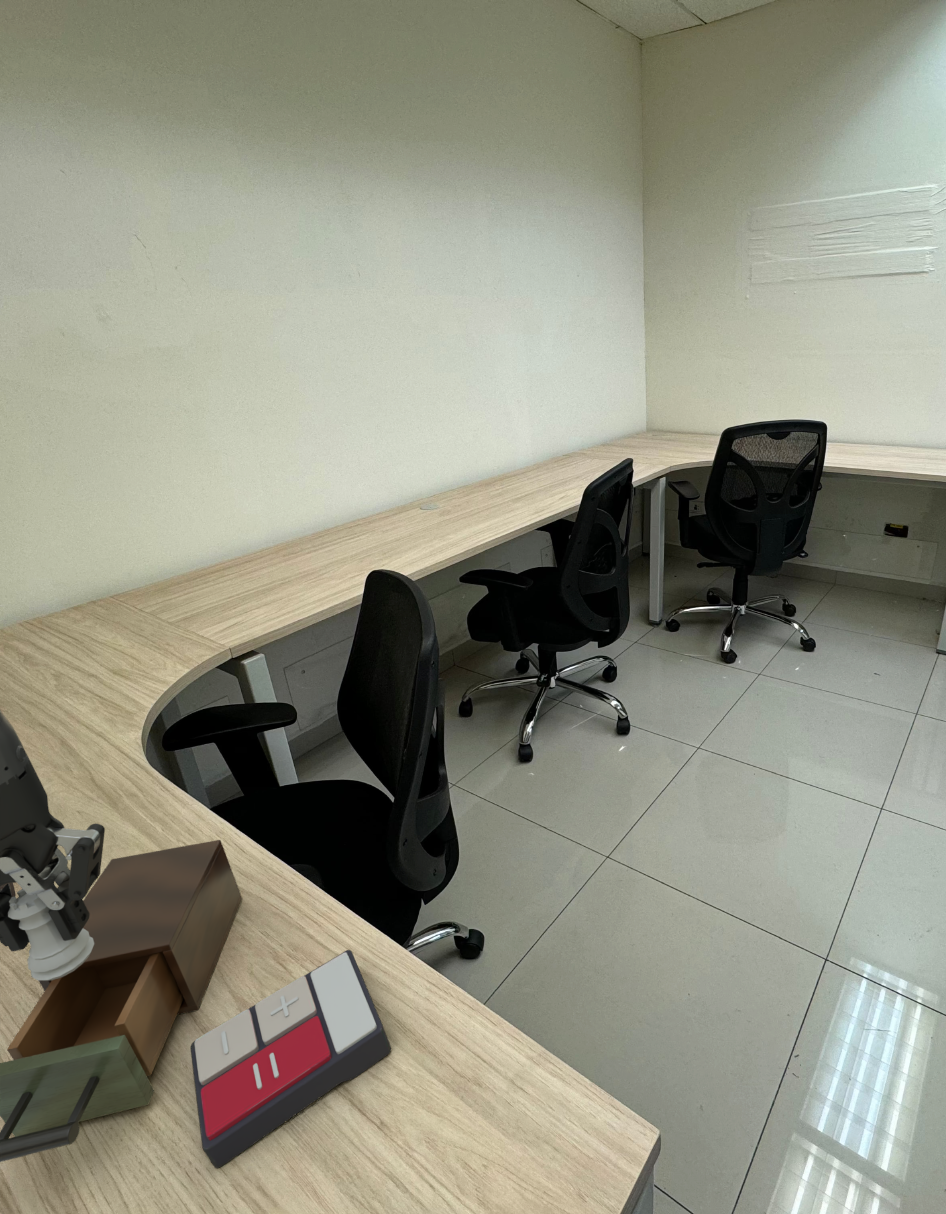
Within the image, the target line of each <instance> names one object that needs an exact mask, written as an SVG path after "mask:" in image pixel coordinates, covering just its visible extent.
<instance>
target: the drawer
mask: <svg viewBox="0 0 946 1214" xmlns="http://www.w3.org/2000/svg"><path fill="white" fill-rule="evenodd" d="M183 999H184V997H183V995H182V993H181V991H180V988H179V986H178V984H177V982H176V980H175V978H174V975H173V973H172V971H171V969H170V967H169V965H168V962H167V960H166V958H165V956H164V954H163V952H159V953H154V954H149V955H144V956H140V957H135V958H130V959H125V960H120V961H116V962H111V963H106V964H101V965H96V966H92V967H87V968H82V969H77V970H74V971H73V972H71V973H69V974H67V975H65V976H63V977H61V978H58V979H55V980H52V981H51V982H50V984H49V986H48V987H47V989H46V990H45V991H44V992H43V993H42V994H41V996H40V998H39V999H38V1001H37V1003H36V1004H35V1005H34V1007H33V1009H32V1010H31V1012H30V1013H29V1015H28V1016H27V1018H26V1020H25V1021H24V1022H23V1024H22V1026H21V1027H20V1028H19V1030H18V1032H17V1033H16V1035H15V1036H14V1038H13V1040H12V1041H11V1042H10V1044H9V1045H8V1047H7V1049H6V1050H7V1052H8V1055H10V1057H11V1058H12V1060H8V1061H3V1062H0V1118H1V1119H2V1121H3V1122H4V1125H3V1127H2V1128H1V1130H0V1163H3V1162H6V1161H10V1160H14V1159H18V1158H22V1157H26V1156H29V1155H34V1154H38V1153H42V1152H47V1151H50V1150H53V1149H58V1148H62V1147H66V1146H70V1145H72V1144H74V1143H75V1142H76V1141H77V1138H78V1136H79V1134H80V1124H79V1123H80V1122H83V1121H88V1120H91V1119H97V1118H99V1117H104V1116H108V1115H112V1114H116V1113H120V1112H124V1111H129V1110H132V1109H138V1108H140V1107H145V1106H148V1105H150V1102H151V1100H152V1098H153V1095H154V1092H155V1089H154V1088H153V1085H152V1083H151V1081H150V1080H149V1078H148V1076H151V1075H152V1074H153V1071H154V1069H155V1067H156V1065H157V1062H158V1060H159V1058H160V1055H161V1053H162V1051H163V1048H164V1046H165V1044H166V1041H167V1039H168V1036H169V1035H170V1032H171V1029H172V1027H173V1025H174V1022H175V1020H176V1017H177V1016H178V1015H177V1013H178V1011H179V1008H180V1006H181V1004H182V1001H183ZM11 1135H13V1136H12V1137H11Z"/></svg>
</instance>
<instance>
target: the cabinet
mask: <svg viewBox="0 0 946 1214" xmlns="http://www.w3.org/2000/svg"><path fill="white" fill-rule="evenodd" d="M82 900H83V902H84V904H85V906H86V908H87V910H88V911H89V913H90V915H89V919H88V921H87V922H86V924H85V926H84V927H83V929H85V930H87V931H88V932H89V936H90V937H92V938H93V941H94V946H93V948H92V951H91V953H90V955H89V957H88V958H87V959H86V960H85V962H84V963H83V964H82V965H80V966H79V967H78V968H77V969H82V968H87V967H92V966H96V965H101V964H106V963H111V962H116V961H120V960H125V959H130V958H135V957H140V956H144V955H149V954H154V953H159V952H163V954H164V956H165V958H166V960H167V962H168V965H169V967H170V969H171V971H172V973H173V975H174V978H175V980H176V982H177V984H178V986H179V988H180V991H181V993H182V995H183V997H184V999H183V1001H182V1004H181V1006H180V1008H179V1011H178V1013H177V1015H176V1016H178V1015H182V1014H187V1013H190V1012H195V1011H196V1012H197V1011H198V1010H199V1009H200V1007H201V1005H202V1001H203V999H204V997H205V994H206V991H207V989H208V988H209V987H208V986H209V984H210V982H211V979H212V977H213V974H214V971H215V969H216V967H217V964H218V962H219V959H220V957H221V954H222V952H223V949H224V946H225V945H226V944H225V943H226V941H227V938H228V937H229V934H230V931H231V928H232V926H233V923H234V920H235V919H236V916H237V913H238V911H239V908H240V906H241V904H242V901H243V897H242V895H241V892H240V888H239V886H238V883H237V881H236V878H235V875H234V873H233V870H232V866H231V864H230V862H229V858H228V856H227V853H226V851H225V848H224V846H223V843H222V841H221V839H216V840H211V841H205V842H199V843H194V844H188V845H184V846H177V847H171V848H167V849H161V850H156V851H149V852H144V853H139V854H133V855H128V856H127V855H126V856H122V857H117V858H111V859H110V861H109V862H108V864H107V865H106V867H105V868H104V870H103V871H102V873H100V875H99V877H98V878H97V879H96V880H95V882H94V883H93V885H92V886H91V888H90V889H89V890H88V893H87V894H86V896H85V897H84V898H83V899H82ZM77 969H75V970H77ZM37 981H38V982H39V984H40V986H41V987H42V989H43V991H44V992H45V990H46V989H47V987H48V986H49V984H50V982H51V981H52V980H46V981H42V980H37Z"/></svg>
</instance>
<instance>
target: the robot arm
mask: <svg viewBox="0 0 946 1214" xmlns="http://www.w3.org/2000/svg"><path fill="white" fill-rule="evenodd" d="M38 775H39V774H37V772H36V770H35V768H34V765H33V763H32V762H31V760H30V757H29V756H28V753H27V752H26V749H25V747H24V745H23V744H22V741H21V739H20V737H19V735H18V733H17V731H16V729H15V728H14V726H13V725H12V723H11V722H10V721H9V720H8V718H7V716H6V715H5V714H4V713H3V712H2V710H1V709H0V944H1V945H3V946H4V947H8V949H9V950H10V952H17V951H22V950H24V949H26V948H27V946H28V945H29V944H30V942H29V939H28V935H27V933H26V932H25V930H22V929H20V928H19V923H20V920H16V919H11V918H10V917H8V911H9V909H10V906H9V905H10V903H9V901H10V899H11V897H16V896H17V893H16V889H15V886H14V883H15V884H17V885H19V887H20V888H21V889H23V890H24V891H25V892H26V893H27V894H28V895H34V894H36V895H37V896H38V897H39V898H40V899H41V900H42V901H43V902H44V904H45V905H46V906H47V907H48V908H49V909H50V910H49V912H48V913H49V915H50V917H51V918H52V920H53V922H54V924H55V926H56V928H57V929H58V931H59V933H60V935H61V937H62V939H63V940H64V941H67V940H72V939H76V938H77V937H78V935H79V933H80V932H81V930H82V929H83V927H84V926H85V924H86V922H87V921H88V919H89V915H90V913H89V911H88V910H87V908H86V906H85V904H84V902H83V900H84V899H85V897H86V896H87V894H88V893H89V891H90V890H91V888H92V887H93V885H94V884H95V882H96V881H97V880H98V878H99V877H100V875H101V868H102V861H103V860H102V859H103V850H104V841H105V832H106V829H105V827H104V825H103V824H100V823H92V824H89V826H88V827H87V828H86V829H75V828H65V825H64V824H63V822H61V821H60V820H59V819H58V818H56V817H54V816H53V815H52V814H51V812H50V809H49V798H48V794H47V791H46V790H45V788H44V786H43V784H42V782H41V779H40V777H39V776H38ZM59 847H62V848H63V849H64V853H65V854H66V855H65V854H64V853H63V852H62V851H61V849H59ZM69 861H70V869H69V867H68V864H69ZM55 884H56V885H57V886H58V887H57V886H56V885H55Z"/></svg>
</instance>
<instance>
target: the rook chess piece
mask: <svg viewBox="0 0 946 1214" xmlns="http://www.w3.org/2000/svg"><path fill="white" fill-rule="evenodd" d="M16 895H17V897H16V896H15V897H11V899H10V901H9V903H10V905H9V906H10V909H9V911H8V917H10V918H11V919H16V920H20V923H19V928H20V929H22V930H25V932H26V933H27V935H28V939H29V945H30V947H29V950H28V957H27V961H26V962H27V970H28V971H30V977H31V978H32V979H34V980H36V981H38V980H42V981H46V980H55V979H58V978H61V977H63V976H65V975H67V974H69V973H71V972H73V971H74V970H75V969H77V968H78V967H79V966H80V965H82V964H83V963H84V962H85V960H86V959H87V958H88V957H89V955H90V953H91V951H92V948H93V946H94V941H93V938H92V937H90V936H89V932H88V931H87V930H85V929H82V930H81V932H80V933H79V935H78V937H77V938H76V939H72V940H67V941H64V940H63V939H62V937H61V935H60V933H59V931H58V929H57V928H56V926H55V924H54V922H53V920H52V918H51V917H50V915H49V913H48V912H49V910H50V909H49V908H48V907H47V906H46V905H45V904H44V902H43V901H42V900H41V899H40V898H39V897H38V896H37V895H36V894H34V895H28V894H27V893H26V892H25V891H24V890H23V889H22V888H21V889H20V890H18V891H17V892H16Z"/></svg>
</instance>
